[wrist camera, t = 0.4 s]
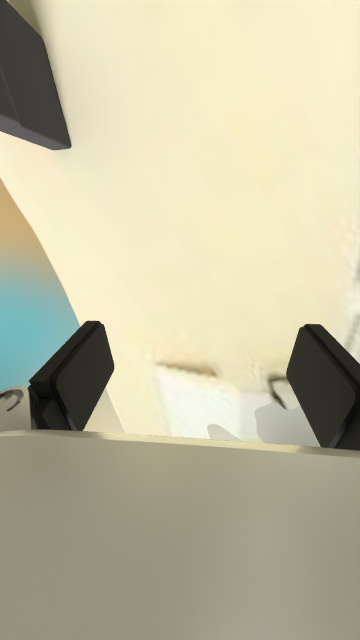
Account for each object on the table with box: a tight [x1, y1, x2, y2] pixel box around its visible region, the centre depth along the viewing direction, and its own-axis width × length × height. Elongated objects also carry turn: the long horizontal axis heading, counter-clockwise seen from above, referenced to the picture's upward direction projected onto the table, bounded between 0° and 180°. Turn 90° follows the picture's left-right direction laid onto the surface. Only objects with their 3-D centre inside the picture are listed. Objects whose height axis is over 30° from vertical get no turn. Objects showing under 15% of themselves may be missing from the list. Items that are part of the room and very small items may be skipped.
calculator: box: [0, 0, 71, 150], centre depth 22 cm, size 11×4×15 cm, turn 5°
